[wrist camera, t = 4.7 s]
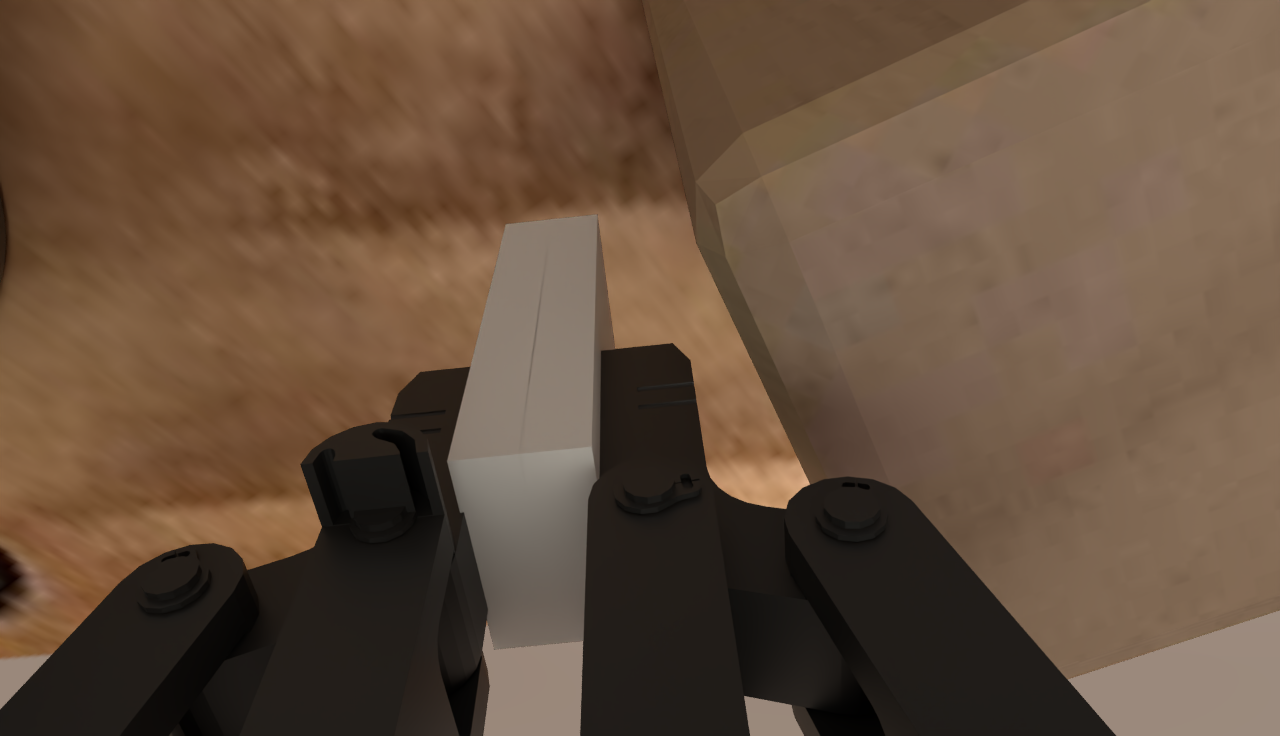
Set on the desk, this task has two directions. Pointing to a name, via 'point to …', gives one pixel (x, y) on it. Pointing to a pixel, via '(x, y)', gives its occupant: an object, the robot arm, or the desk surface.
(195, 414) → the desk surface
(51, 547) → the desk surface
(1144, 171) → the block
